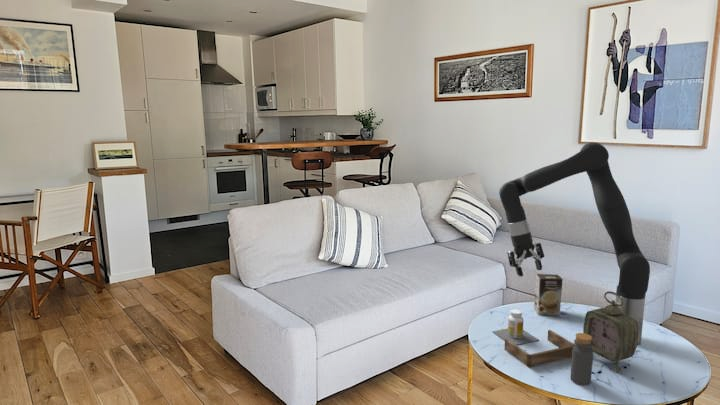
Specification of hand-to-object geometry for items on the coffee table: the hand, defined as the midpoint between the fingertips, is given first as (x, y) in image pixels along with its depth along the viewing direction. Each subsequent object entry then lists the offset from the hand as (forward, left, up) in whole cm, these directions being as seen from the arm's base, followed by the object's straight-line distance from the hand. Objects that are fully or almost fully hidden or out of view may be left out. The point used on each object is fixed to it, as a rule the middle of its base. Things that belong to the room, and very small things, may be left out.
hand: (530, 273), depth 179 cm
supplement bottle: (+2, +10, -22) cm, 25 cm away
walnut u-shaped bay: (-8, +18, -22) cm, 30 cm away
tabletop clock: (-30, +13, -23) cm, 40 cm away
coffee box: (-4, -19, -23) cm, 30 cm away
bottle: (-23, +30, -23) cm, 44 cm away
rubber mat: (+2, +10, -22) cm, 25 cm away
